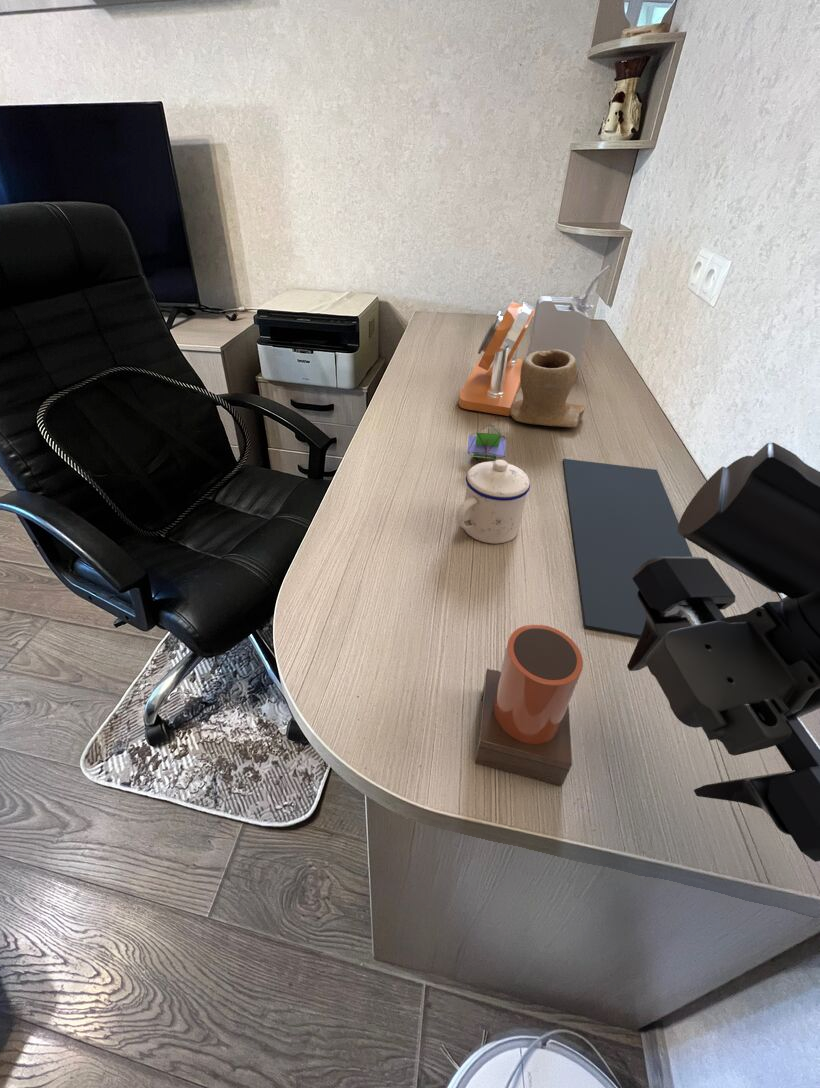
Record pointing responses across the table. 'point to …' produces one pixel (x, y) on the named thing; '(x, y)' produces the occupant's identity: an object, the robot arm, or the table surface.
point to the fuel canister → (562, 323)
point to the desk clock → (498, 364)
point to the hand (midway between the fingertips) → (663, 725)
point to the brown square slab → (521, 744)
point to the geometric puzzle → (487, 443)
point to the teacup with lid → (493, 501)
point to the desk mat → (617, 538)
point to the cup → (536, 683)
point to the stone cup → (547, 390)
